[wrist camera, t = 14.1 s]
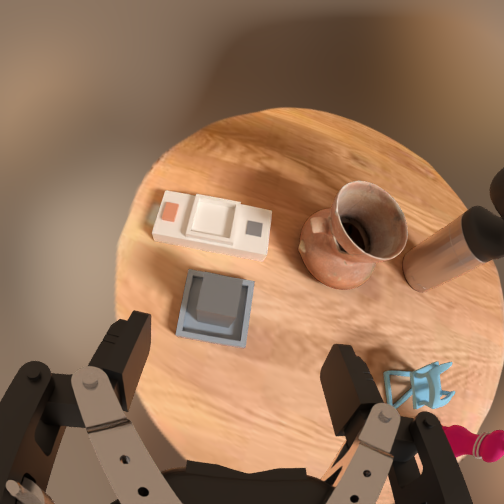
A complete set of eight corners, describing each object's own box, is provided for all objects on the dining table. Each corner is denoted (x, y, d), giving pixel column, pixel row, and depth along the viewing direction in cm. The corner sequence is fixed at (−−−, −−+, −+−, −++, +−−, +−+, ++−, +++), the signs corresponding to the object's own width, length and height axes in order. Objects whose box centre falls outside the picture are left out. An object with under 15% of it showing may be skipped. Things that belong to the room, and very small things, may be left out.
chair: (420, 397, 42) (465, 396, 31) (387, 411, 40) (433, 416, 29) (415, 359, 45) (461, 352, 34) (382, 371, 43) (429, 368, 32)
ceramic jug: (291, 294, 45) (329, 266, 32) (283, 214, 51) (312, 165, 38) (381, 292, 49) (433, 267, 36) (368, 221, 54) (409, 183, 41)
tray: (189, 273, 44) (188, 269, 42) (252, 284, 45) (254, 281, 43) (176, 336, 40) (175, 335, 38) (243, 348, 41) (245, 347, 39)
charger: (233, 298, 43) (243, 279, 34) (228, 328, 41) (236, 317, 32) (203, 291, 43) (204, 270, 34) (197, 321, 41) (196, 309, 32)
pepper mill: (421, 458, 37) (497, 472, 18) (429, 425, 40) (508, 430, 21) (444, 453, 37) (515, 461, 19) (450, 422, 40) (524, 422, 22)
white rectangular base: (268, 219, 50) (273, 206, 46) (262, 261, 47) (268, 252, 43) (167, 199, 48) (164, 186, 44) (154, 241, 45) (150, 229, 41)
